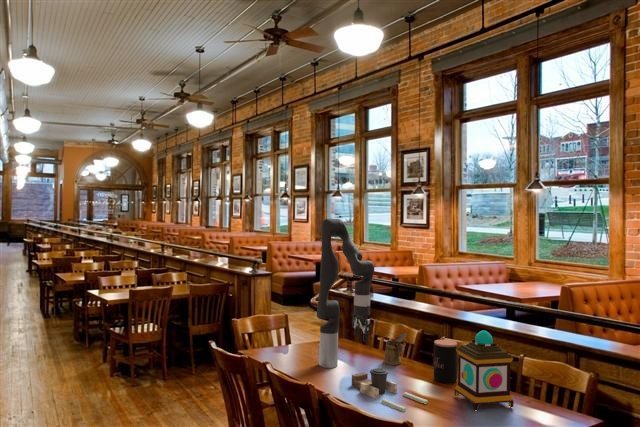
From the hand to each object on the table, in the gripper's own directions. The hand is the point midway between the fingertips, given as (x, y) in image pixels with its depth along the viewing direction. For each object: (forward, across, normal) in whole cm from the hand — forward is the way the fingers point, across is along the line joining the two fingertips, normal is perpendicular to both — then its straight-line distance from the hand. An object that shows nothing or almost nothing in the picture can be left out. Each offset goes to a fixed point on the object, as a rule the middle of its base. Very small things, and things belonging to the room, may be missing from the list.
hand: (361, 338), depth 232 cm
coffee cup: (+20, +15, +2) cm, 25 cm away
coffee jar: (+20, +12, +39) cm, 45 cm away
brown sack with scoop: (+21, -19, +30) cm, 42 cm away
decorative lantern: (+19, +40, +37) cm, 58 cm away
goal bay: (+19, +29, +6) cm, 36 cm away
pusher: (+20, +6, -1) cm, 21 cm away
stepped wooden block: (+20, +15, +2) cm, 25 cm away
